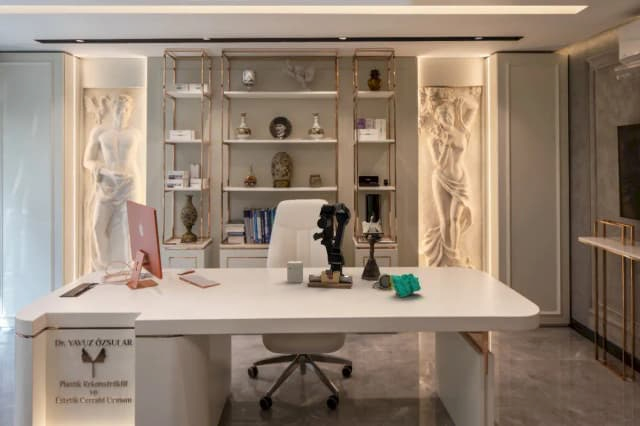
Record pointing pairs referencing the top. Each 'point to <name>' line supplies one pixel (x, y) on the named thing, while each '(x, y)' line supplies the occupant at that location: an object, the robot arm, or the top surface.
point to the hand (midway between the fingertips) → (328, 256)
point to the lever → (329, 274)
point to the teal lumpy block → (405, 284)
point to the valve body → (336, 278)
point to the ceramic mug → (383, 281)
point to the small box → (295, 271)
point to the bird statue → (371, 249)
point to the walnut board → (330, 284)
